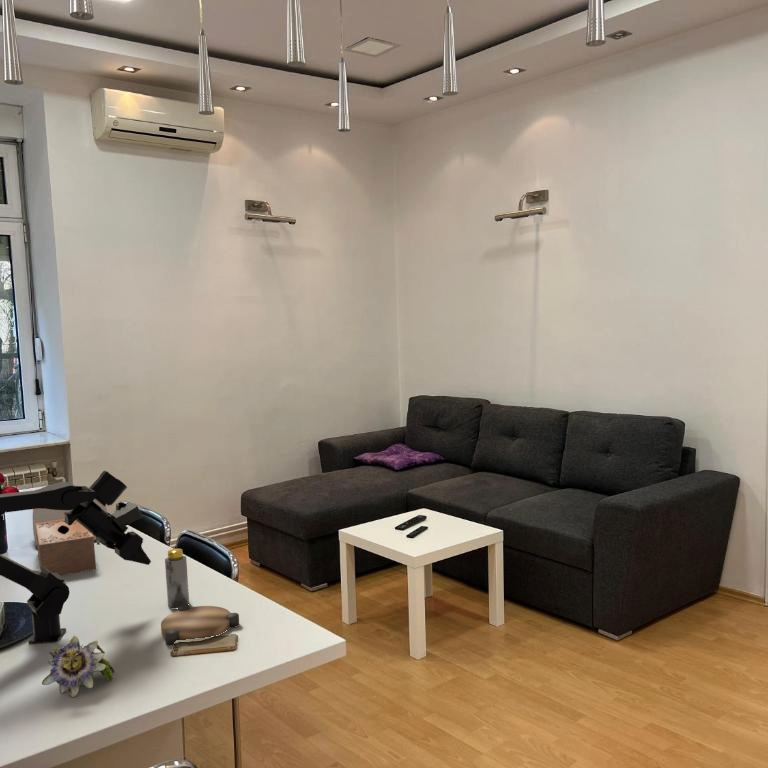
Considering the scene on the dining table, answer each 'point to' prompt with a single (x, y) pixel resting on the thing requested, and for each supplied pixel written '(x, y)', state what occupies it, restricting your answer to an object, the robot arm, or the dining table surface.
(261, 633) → the dining table surface
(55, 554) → the tissue box cover
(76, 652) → the passion flower
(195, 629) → the base plate
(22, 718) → the dining table surface
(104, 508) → the portable electronic device stand
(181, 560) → the gold-capped silver cylinder
